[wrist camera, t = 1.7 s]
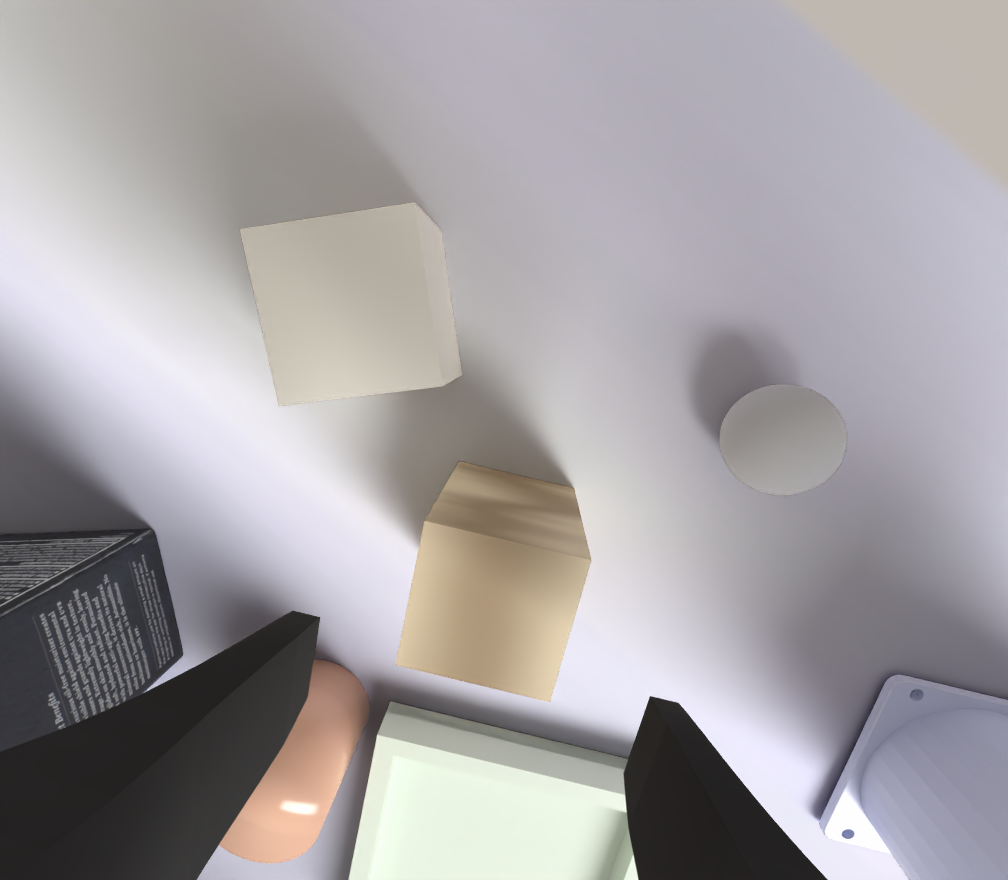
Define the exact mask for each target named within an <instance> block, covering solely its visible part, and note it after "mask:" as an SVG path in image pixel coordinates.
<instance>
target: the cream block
mask: <svg viewBox="0 0 1008 880" xmlns="http://www.w3.org/2000/svg"><path fill="white" fill-rule="evenodd" d="M240 234H241V238H242V243H243V247H244V252H245V256H246V261H247V265H248V270H249V274H250V279H251V283H252V287H253V292H254V296H255V301H256V305H257V310H258V314H259V319H260V323H261V328H262V332H263V337H264V341H265V346H266V350H267V355H268V359H269V364H270V368H271V372H272V377H273V381H274V386H275V390H276V395H277V399H278V404H279V406H285V405H293V404H302V403H310V402H318V401H327V400H335V399H343V398H352V397H360V396H369V395H377V394H385V393H394V392H402V391H410V390H419V389H427V388H435V387H443V386H445V385H446V384H448V383H449V382H451V381H453V380H454V379H456V378H458V377H459V376H461V375H462V371H461V364H460V357H459V350H458V343H457V336H456V329H455V322H454V315H453V308H452V300H451V293H450V286H449V279H448V272H447V265H446V258H445V251H444V244H443V237H442V230H441V229H440V228H439V227H438V226H437V225H436V224H435V223H434V222H433V221H432V220H431V219H430V218H429V217H428V216H427V214H426V213H425V212H424V211H423V210H422V209H421V208H420V207H419V206H418V205H417V204H416V203H415V202H412V203H405V204H399V205H392V206H386V207H379V208H373V209H366V210H360V211H353V212H347V213H340V214H334V215H327V216H321V217H314V218H308V219H301V220H295V221H288V222H282V223H275V224H269V225H262V226H256V227H249V228H243V229H240Z"/></svg>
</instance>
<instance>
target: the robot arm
mask: <svg viewBox="0 0 1008 880" xmlns="http://www.w3.org/2000/svg"><path fill="white" fill-rule="evenodd" d="M319 622H320V617H317V616H312V615H308V614H304V613H300V612H296V611H291V612H290V613H288V614H286V615H284V616H283V617H281V618H279V619H277V620H276V621H274V622H272V623H271V624H269V625H267V626H265V627H264V628H262V629H260V630H259V631H257V632H255V633H254V634H252V635H250V636H248V637H247V638H245V639H243V640H242V641H240V642H238V643H237V644H235V645H233V646H231V647H230V648H228V649H226V650H224V651H222V652H221V653H219V654H217V655H215V656H214V657H212V658H210V659H208V660H207V661H205V662H203V663H201V664H199V665H198V666H196V667H194V668H192V669H190V670H188V671H186V672H184V673H182V674H180V675H178V676H176V677H174V678H172V679H170V680H168V681H167V682H165V683H163V684H161V685H159V686H157V687H155V688H153V689H151V690H149V691H147V692H145V693H143V694H141V695H139V696H136V697H134V698H132V699H130V700H128V701H126V702H123V703H121V704H119V705H117V706H115V707H112V708H110V709H108V710H105V711H103V712H101V713H98V714H96V715H94V716H91V717H89V718H87V719H84V720H82V721H80V722H77V723H75V724H73V725H70V726H68V727H65V728H63V729H60V730H57V731H55V732H52V733H49V734H47V735H44V736H41V737H38V738H36V739H33V740H30V741H28V742H25V743H22V744H20V745H17V746H14V747H12V748H9V749H6V750H4V751H1V752H0V880H197V878H198V877H199V875H200V873H201V872H202V870H203V868H204V867H205V865H206V864H207V862H208V860H209V859H210V857H211V856H212V854H213V853H214V851H215V850H216V848H217V847H218V845H219V844H220V842H221V841H222V839H223V838H224V836H225V834H226V833H227V831H228V830H229V828H230V827H231V825H232V824H233V822H234V821H235V819H236V818H237V816H238V815H239V813H240V812H241V810H242V809H243V807H244V805H245V804H246V802H247V801H248V799H249V798H250V796H251V795H252V793H253V792H254V790H255V789H256V787H257V786H258V784H259V783H260V781H261V779H262V778H263V776H264V775H265V773H266V772H267V770H268V769H269V767H270V766H271V764H272V762H273V761H274V759H275V758H276V756H277V755H278V753H279V751H280V750H281V748H282V747H283V745H284V743H285V741H286V739H287V737H288V735H289V734H290V732H291V730H292V728H293V726H294V724H295V722H296V720H297V718H298V716H299V714H300V712H301V710H302V708H303V706H304V704H305V702H306V700H307V698H308V693H309V686H310V680H311V673H312V667H313V661H314V654H315V648H316V641H317V635H318V628H319ZM915 689H916V690H915ZM913 690H915V691H914V692H912V691H913ZM911 692H912V693H911ZM623 775H624V787H625V799H626V810H627V819H628V829H629V834H630V840H631V845H632V850H633V855H634V860H635V865H636V870H637V875H638V880H827V879H826V878H825V876H824V875H823V874H822V873H821V872H820V871H819V870H818V869H817V868H816V867H815V866H814V865H813V864H812V863H811V861H810V860H809V859H808V858H807V857H806V856H805V855H804V854H803V853H802V851H801V850H800V849H799V848H798V847H797V846H796V845H795V844H794V842H793V841H792V840H791V839H790V838H789V837H788V836H787V835H786V833H785V832H784V831H783V830H782V829H781V828H780V827H779V826H778V824H777V823H776V822H775V821H774V820H773V819H772V817H771V816H770V815H769V814H768V813H767V812H766V810H765V809H764V808H763V807H762V806H761V804H760V803H759V802H758V801H757V800H756V798H755V797H754V796H753V795H752V794H751V792H750V791H749V790H748V789H747V788H746V786H745V785H744V784H743V783H742V781H741V780H740V779H739V778H738V776H737V775H736V774H735V773H734V772H733V770H732V769H731V768H730V767H729V765H728V764H727V763H726V762H725V760H724V759H723V758H722V756H721V755H720V754H719V753H718V751H717V750H716V749H715V748H714V746H713V745H712V744H711V743H710V741H709V740H708V739H707V737H706V736H705V735H704V734H703V732H702V731H701V730H700V729H699V727H698V726H697V725H696V724H695V722H694V721H693V720H692V719H691V717H690V716H689V715H688V714H687V712H686V711H685V710H684V709H683V708H682V707H681V705H680V704H679V703H676V702H672V701H668V700H664V699H660V698H655V697H651V696H650V698H649V701H648V704H647V707H646V710H645V712H644V715H643V718H642V721H641V724H640V727H639V730H638V733H637V736H636V738H635V741H634V744H633V747H632V750H631V753H630V756H629V759H628V762H627V764H626V767H625V770H624V773H623ZM819 825H820V828H821V830H822V831H823V833H824V835H825V836H826V837H827V838H830V839H833V840H837V841H841V842H845V843H849V844H853V845H857V846H862V847H866V848H870V849H874V850H878V851H882V852H886V853H890V854H892V856H893V857H894V858H895V860H896V861H897V863H898V864H899V866H900V867H901V869H902V870H903V872H904V873H905V875H906V876H907V878H908V879H909V880H1008V700H1006V699H1001V698H997V697H993V696H989V695H985V694H980V693H976V692H972V691H968V690H964V689H959V688H955V687H951V686H947V685H943V684H938V683H934V682H930V681H926V680H922V679H917V678H913V677H909V676H905V675H894V676H891V677H890V678H888V679H887V681H886V682H885V684H884V686H883V688H882V690H881V692H880V694H879V697H878V699H877V701H876V703H875V705H874V707H873V709H872V711H871V713H870V716H869V718H868V720H867V722H866V724H865V726H864V728H863V730H862V732H861V735H860V737H859V739H858V741H857V743H856V745H855V747H854V749H853V751H852V754H851V756H850V758H849V760H848V762H847V764H846V766H845V768H844V770H843V773H842V775H841V777H840V779H839V781H838V783H837V785H836V787H835V789H834V792H833V794H832V796H831V798H830V800H829V802H828V804H827V806H826V808H825V811H824V813H823V815H822V817H821V819H820V822H819Z"/></svg>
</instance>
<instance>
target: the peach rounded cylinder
mask: <svg viewBox="0 0 1008 880" xmlns="http://www.w3.org/2000/svg"><path fill="white" fill-rule="evenodd" d="M369 713H370V703H369V698H368V695H367V692H366V690H365V688H364V687H363V685H362V684H361V682H360V681H359V680H358V679H357V677H356V676H354V675H353V674H352V673H351V672H350V671H348V670H347V669H345V668H344V667H342V666H340V665H338V664H335V663H333V662H329V661H325V660H317V659H314V661H313V667H312V673H311V680H310V686H309V693H308V698H307V700H306V702H305V704H304V706H303V708H302V710H301V712H300V714H299V716H298V718H297V720H296V722H295V724H294V726H293V728H292V730H291V732H290V734H289V735H288V737H287V739H286V741H285V743H284V745H283V747H282V748H281V750H280V751H279V753H278V755H277V756H276V758H275V759H274V761H273V762H272V764H271V766H270V767H269V769H268V770H267V772H266V773H265V775H264V776H263V778H262V779H261V781H260V783H259V784H258V786H257V787H256V789H255V790H254V792H253V793H252V795H251V796H250V798H249V799H248V801H247V802H246V804H245V805H244V807H243V809H242V810H241V812H240V813H239V815H238V816H237V818H236V819H235V821H234V822H233V824H232V825H231V827H230V828H229V830H228V831H227V833H226V834H225V836H224V838H223V839H222V841H221V842H220V844H219V845H220V846H221V847H222V848H224V849H225V850H227V851H228V852H230V853H232V854H234V855H236V856H239V857H241V858H243V859H247V860H250V861H254V862H260V863H279V862H285V861H289V860H292V859H294V858H297V857H298V856H300V855H302V854H303V853H305V852H306V851H307V850H308V849H309V848H310V847H311V846H312V845H313V844H314V842H315V841H316V839H317V837H318V835H319V832H320V830H321V828H322V825H323V823H324V821H325V818H326V816H327V814H328V812H329V809H330V807H331V805H332V802H333V800H334V798H335V795H336V793H337V791H338V788H339V786H340V784H341V781H342V779H343V777H344V774H345V772H346V770H347V767H348V765H349V763H350V760H351V758H352V756H353V754H354V751H355V749H356V747H357V744H358V742H359V740H360V737H361V735H362V733H363V730H364V728H365V726H366V723H367V721H368V718H369Z"/></svg>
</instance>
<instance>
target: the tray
mask: <svg viewBox="0 0 1008 880" xmlns="http://www.w3.org/2000/svg"><path fill="white" fill-rule="evenodd" d="M627 762H628V759H627V758H622V757H618V756H614V755H610V754H606V753H602V752H598V751H594V750H589V749H585V748H581V747H577V746H573V745H569V744H565V743H560V742H556V741H552V740H548V739H544V738H540V737H536V736H532V735H527V734H523V733H519V732H515V731H511V730H507V729H503V728H498V727H494V726H490V725H486V724H482V723H478V722H474V721H470V720H465V719H461V718H457V717H453V716H449V715H445V714H441V713H436V712H432V711H428V710H424V709H420V708H416V707H412V706H408V705H403V704H399V703H395V702H391V701H390V704H389V706H388V709H387V711H386V714H385V716H384V719H383V721H382V724H381V727H380V729H379V732H378V734H377V739H376V744H375V749H374V754H373V759H372V764H371V769H370V774H369V779H368V784H367V789H366V794H365V799H364V804H363V809H362V814H361V819H360V825H359V830H358V835H357V840H356V845H355V850H354V855H353V860H352V865H351V870H350V875H349V880H638V875H637V870H636V865H635V860H634V855H633V850H632V845H631V840H630V834H629V829H628V819H627V810H626V799H625V787H624V775H623V773H624V770H625V767H626V764H627Z"/></svg>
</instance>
